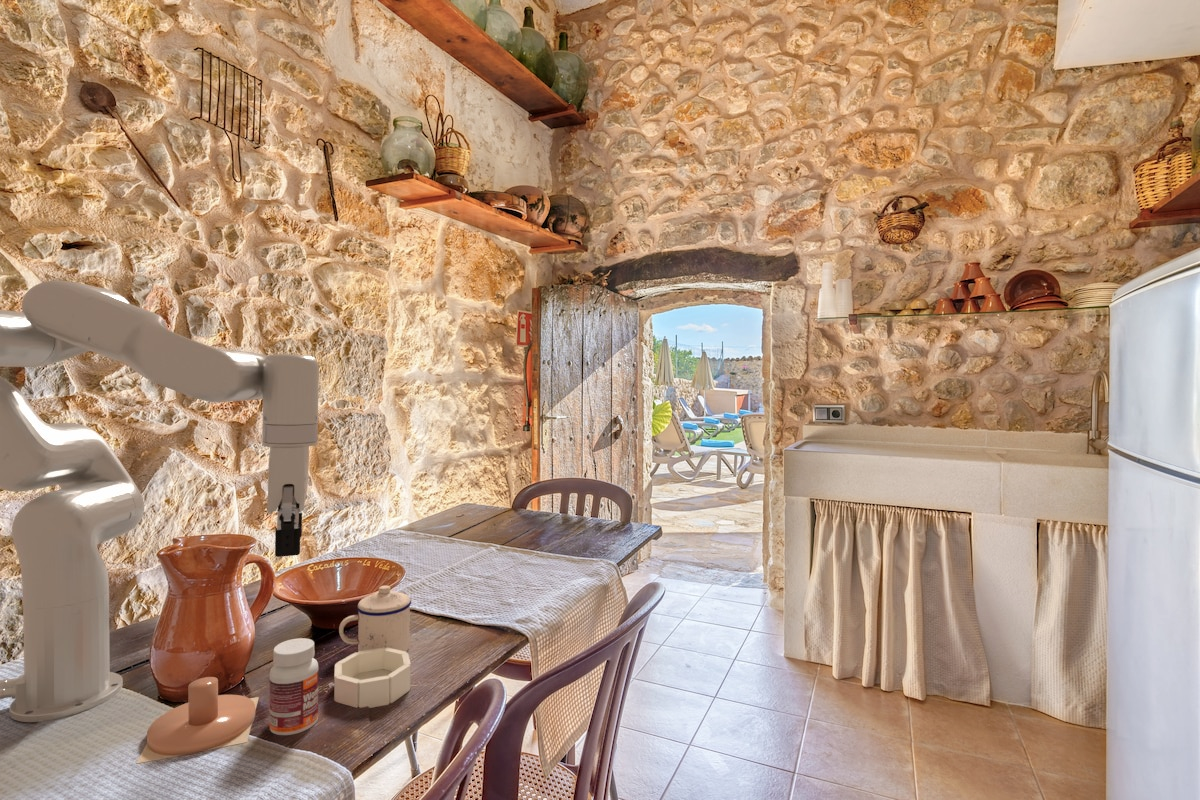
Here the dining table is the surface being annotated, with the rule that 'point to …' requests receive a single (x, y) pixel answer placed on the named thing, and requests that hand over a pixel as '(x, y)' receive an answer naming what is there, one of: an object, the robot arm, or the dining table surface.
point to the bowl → (372, 677)
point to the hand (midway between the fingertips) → (289, 546)
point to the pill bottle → (293, 687)
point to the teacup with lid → (381, 621)
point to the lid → (201, 721)
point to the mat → (242, 738)
